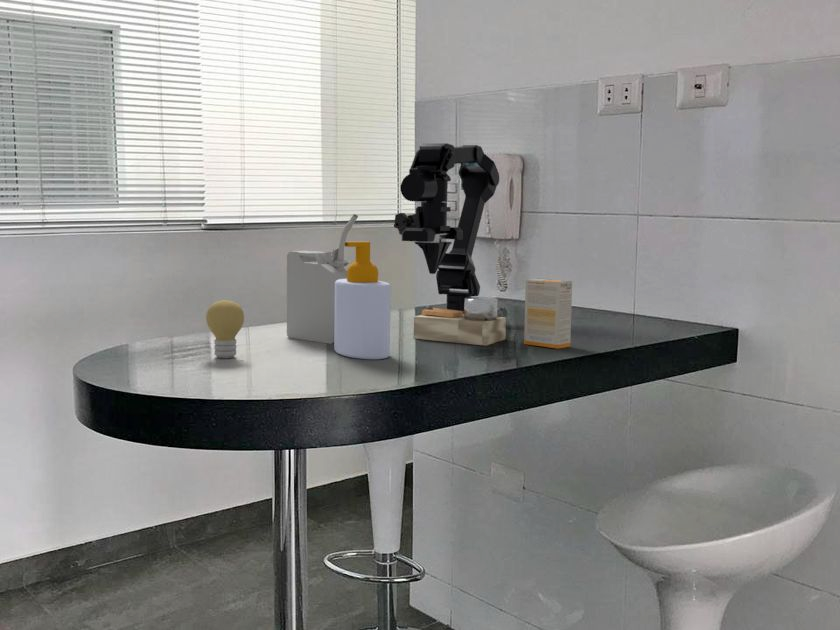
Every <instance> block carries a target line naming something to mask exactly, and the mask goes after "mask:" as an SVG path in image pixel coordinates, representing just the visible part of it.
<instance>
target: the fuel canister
mask: <svg viewBox="0 0 840 630" xmlns="http://www.w3.org/2000/svg"><path fill="white" fill-rule="evenodd" d="M358 218H359V216H358V215H357V214H355V213H354V214H352V215H351V217H350V218H349V220H348V222H347V223H346V224H345V226H344V227H343V229H342V232H341V236H340V242H339V245H338V247H336V248H335V249H332V251H314V250H291V251H289V252H288V253H287V255H286V336H287V338H290V339H294V340H295V339H296V340H302V341H309V342H315V343H316V342H317V343H324V344H328V345H334V319H335V281H336V280H339V279H347V270H348V269H346V268H345V267H346V266H348V265H350V264H352V261H350V260H347V259H346V260H345V259H344V258H345V242H347V241H346V240H347V235H348V234H349V232H350V231H351V229H352V228H353V225H354V224H355V223H356V221H357V219H358Z"/></svg>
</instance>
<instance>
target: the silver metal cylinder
mask: <svg viewBox="0 0 840 630" xmlns="http://www.w3.org/2000/svg"><path fill="white" fill-rule="evenodd" d="M498 300H499V299H498V298H497V297H496V298H495V297H485V296H482V297H480V296H472V297H468V298H465V303H464V319H467V320H475V321H492V320H497V317H498V302H499V301H498Z"/></svg>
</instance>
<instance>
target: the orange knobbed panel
mask: <svg viewBox="0 0 840 630" xmlns="http://www.w3.org/2000/svg"><path fill="white" fill-rule="evenodd" d="M423 314H426V315H435V316H443V317H452V318H453V317H457V316H461V315H463V311H457V310H448V309H446V308H438V307H433V306H432V305H427V306H425V309H421V315H423Z"/></svg>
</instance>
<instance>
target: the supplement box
mask: <svg viewBox="0 0 840 630" xmlns="http://www.w3.org/2000/svg"><path fill="white" fill-rule="evenodd" d="M524 292H525V293H524V301H525V302H524V327H523V328H524V330H523V331H524V332H523V333H524V335H523V336H524V337H523V338H524V339H523V344H524V345H529V346H536V347H537V346H538V347H544V348H550V349H557V350H559V349H565V348H570V347H571V332H572V328H571V327H572V307H573V304H572V303H573V302H572V301H573V300H572V299H573V297H572V296H573V280H566V279H554V278H553V279H552V278H540V277H538V278H537V277H536V278H529V279H525V289H524Z"/></svg>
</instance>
